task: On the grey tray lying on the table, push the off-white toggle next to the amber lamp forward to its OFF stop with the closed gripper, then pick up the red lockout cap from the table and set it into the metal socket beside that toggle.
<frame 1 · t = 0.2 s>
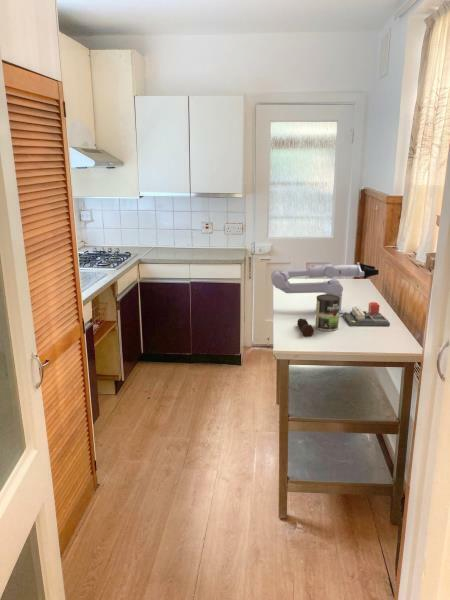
hand: (376, 270, 233), 21 cm above the table, tool horizontal, fingers open, 7 cm apart
coffee can: (326, 327, 217), on the table
toggle tagged: (360, 315, 222), point 4 cm above the table, slide at 0.0 cm
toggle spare: (356, 311, 228), point 4 cm above the table, slide at 0.0 cm
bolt: (304, 331, 213), on the table
grey tray: (365, 320, 226), on the table
lockout cap: (373, 313, 237), on the table
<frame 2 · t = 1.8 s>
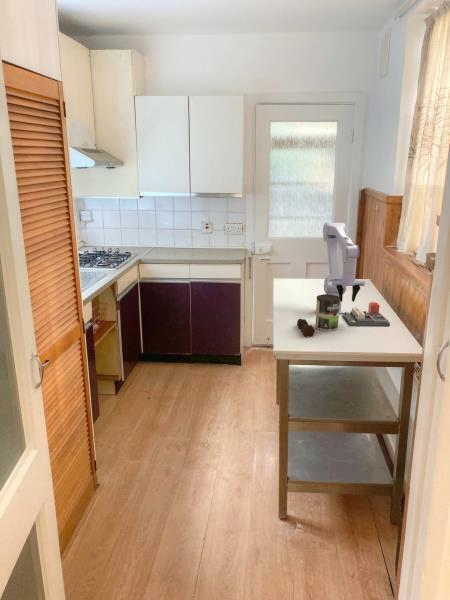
hand: (347, 301, 220), 10 cm above the table, tool pointing down, fingers open, 5 cm apart
nothing on the table moved.
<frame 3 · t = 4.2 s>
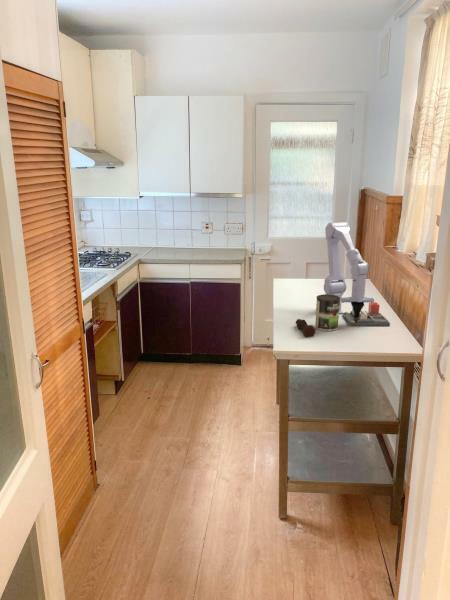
hand: (356, 317, 222), 3 cm above the table, tool pointing down, fingers closed
toggle tagged: (362, 315, 222), point 4 cm above the table, slide at 1.1 cm, touching gripper
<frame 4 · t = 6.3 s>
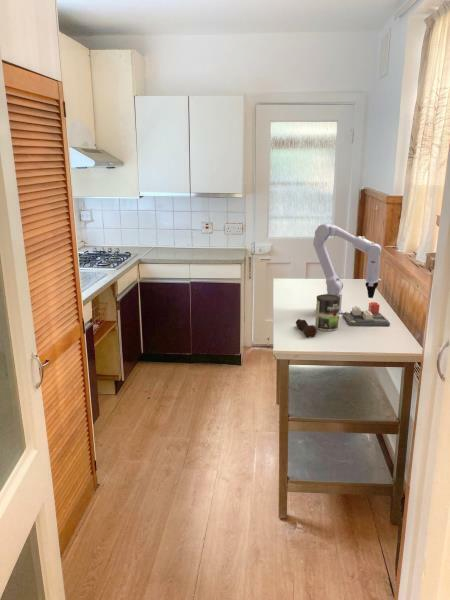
hand: (370, 297, 230), 9 cm above the table, tool pointing down, fingers closed
toggle tagged: (367, 315, 222), point 4 cm above the table, slide at 3.5 cm
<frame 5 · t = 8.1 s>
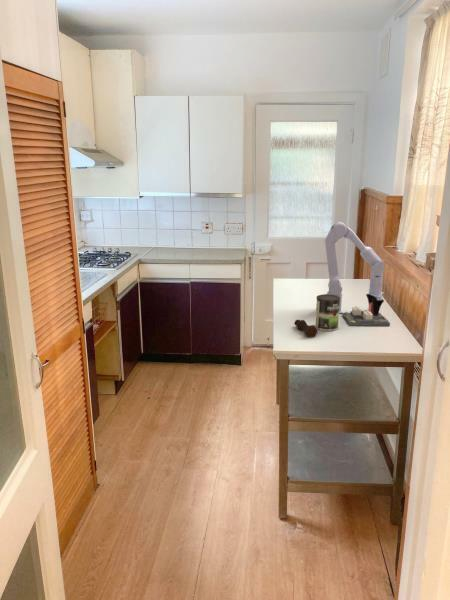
hand: (373, 310, 236), 1 cm above the table, tool pointing down, fingers open, 7 cm apart
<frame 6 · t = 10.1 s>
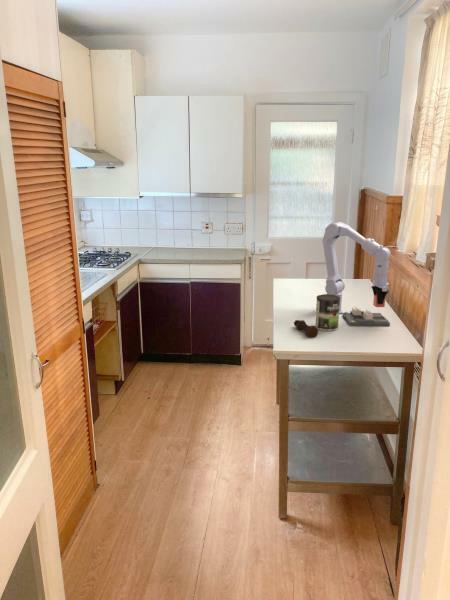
hand: (378, 302, 225), 8 cm above the table, tool pointing down, fingers closed on lockout cap, 4 cm apart
lockout cap: (378, 305, 225), point 7 cm above the table, touching gripper
when the fingers open (4 cm above the table, at t = 11.5 s): lockout cap drops 1 cm, resting on grey tray.
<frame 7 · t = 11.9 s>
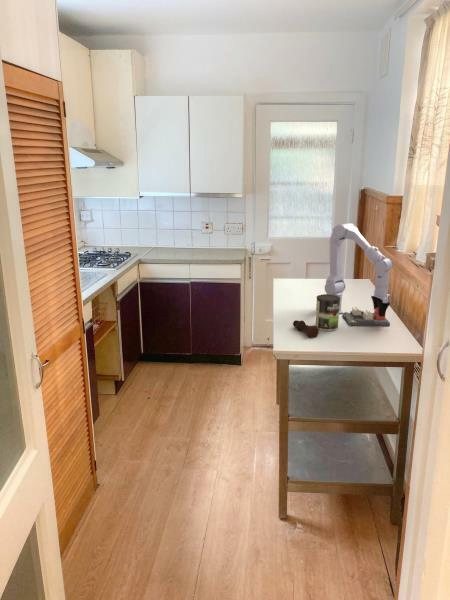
hand: (379, 313, 222), 4 cm above the table, tool pointing down, fingers open, 7 cm apart
lockout cap: (379, 319, 222), point 1 cm above the table, touching grey tray
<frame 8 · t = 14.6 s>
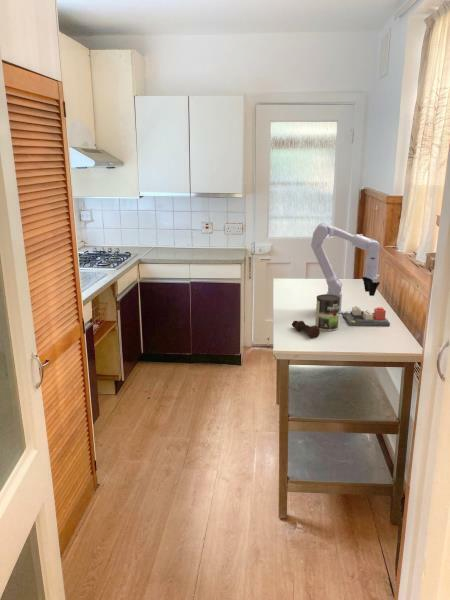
hand: (369, 293, 233), 10 cm above the table, tool pointing down, fingers open, 7 cm apart
at the end: toggle tagged slide at 3.5 cm; lockout cap 0.2 cm from the target spot on the grey tray, point 1.5 cm above the grey tray's base; lockout cap tilted 0° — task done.
